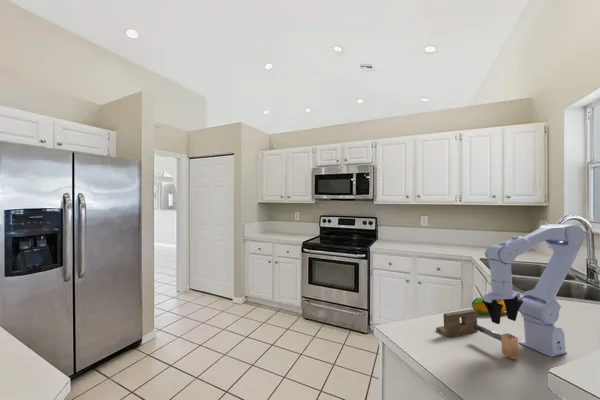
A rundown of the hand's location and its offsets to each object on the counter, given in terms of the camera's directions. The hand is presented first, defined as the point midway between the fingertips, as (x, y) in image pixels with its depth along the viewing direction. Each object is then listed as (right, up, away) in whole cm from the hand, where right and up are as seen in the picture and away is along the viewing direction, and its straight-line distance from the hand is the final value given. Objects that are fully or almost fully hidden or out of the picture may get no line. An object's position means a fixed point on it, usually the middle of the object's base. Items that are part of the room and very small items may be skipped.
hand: (503, 321), depth 86 cm
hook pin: (-4, -9, -1) cm, 9 cm away
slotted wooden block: (-8, -10, +14) cm, 19 cm away
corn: (+20, -11, +30) cm, 38 cm away
